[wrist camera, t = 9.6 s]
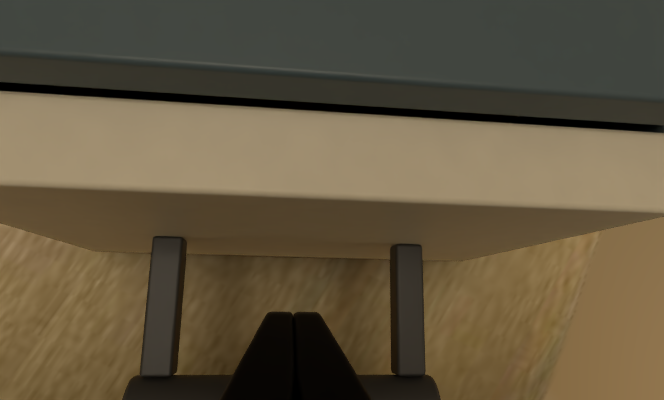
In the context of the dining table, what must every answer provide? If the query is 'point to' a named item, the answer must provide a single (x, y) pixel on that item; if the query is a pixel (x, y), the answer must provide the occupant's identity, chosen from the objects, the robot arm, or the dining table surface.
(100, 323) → the dining table surface
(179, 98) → the drawer
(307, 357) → the robot arm
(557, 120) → the cabinet
